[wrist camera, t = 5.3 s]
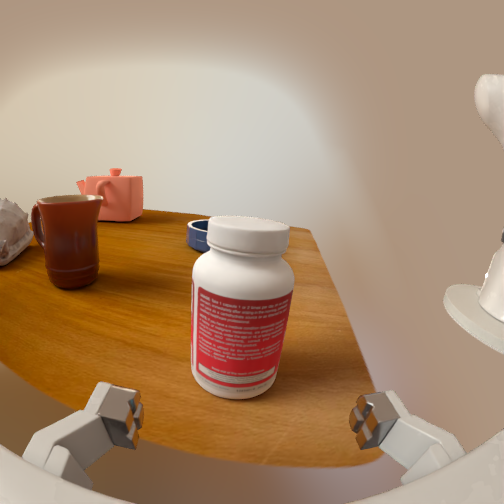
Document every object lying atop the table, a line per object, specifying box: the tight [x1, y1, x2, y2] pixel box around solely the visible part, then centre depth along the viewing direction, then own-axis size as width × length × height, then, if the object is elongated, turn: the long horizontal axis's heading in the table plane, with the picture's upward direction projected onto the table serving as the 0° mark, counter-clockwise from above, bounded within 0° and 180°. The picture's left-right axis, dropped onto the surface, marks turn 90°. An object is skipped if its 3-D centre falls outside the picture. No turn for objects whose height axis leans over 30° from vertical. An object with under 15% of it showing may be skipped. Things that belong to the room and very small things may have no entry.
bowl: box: [186, 220, 211, 253], centre depth 51 cm, size 13×14×4 cm
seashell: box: [0, 198, 34, 266], centre depth 31 cm, size 12×14×10 cm
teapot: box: [77, 168, 143, 222], centre depth 66 cm, size 20×22×14 cm
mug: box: [31, 195, 103, 289], centre depth 27 cm, size 12×9×10 cm
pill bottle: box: [191, 216, 294, 399], centre depth 17 cm, size 6×6×11 cm
